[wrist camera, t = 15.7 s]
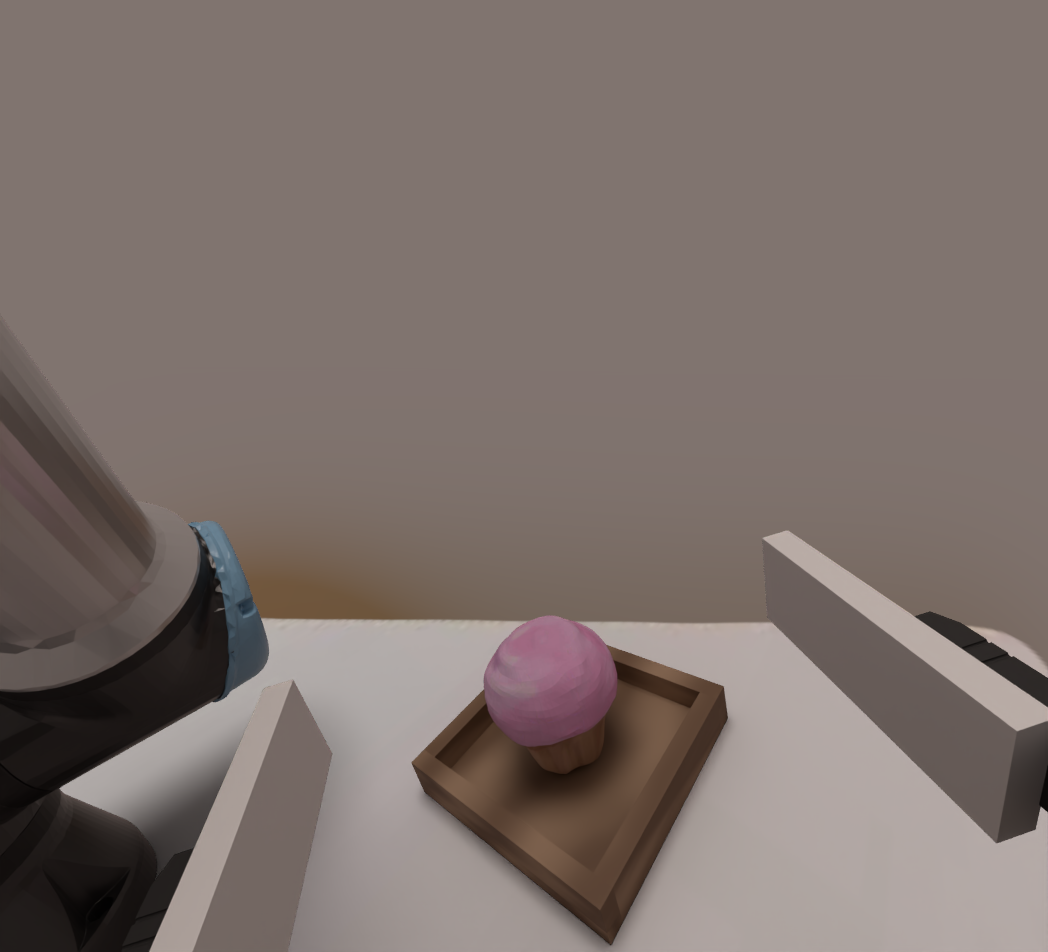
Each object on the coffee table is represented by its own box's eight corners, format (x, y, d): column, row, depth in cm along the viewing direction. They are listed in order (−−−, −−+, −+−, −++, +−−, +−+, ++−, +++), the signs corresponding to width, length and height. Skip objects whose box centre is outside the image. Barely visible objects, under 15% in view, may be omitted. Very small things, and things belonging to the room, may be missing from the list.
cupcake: (601, 683, 41) (576, 580, 37) (655, 773, 33) (629, 653, 29) (497, 726, 39) (461, 624, 36) (527, 831, 31) (484, 713, 28)
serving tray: (424, 791, 37) (411, 762, 36) (555, 650, 47) (548, 624, 46) (610, 945, 26) (600, 910, 25) (727, 717, 36) (723, 686, 35)
